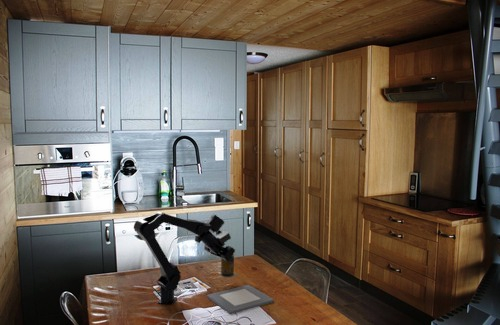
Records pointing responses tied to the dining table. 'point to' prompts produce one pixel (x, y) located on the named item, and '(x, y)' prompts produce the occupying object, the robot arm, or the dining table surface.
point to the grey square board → (239, 299)
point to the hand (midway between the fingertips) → (229, 259)
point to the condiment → (227, 268)
